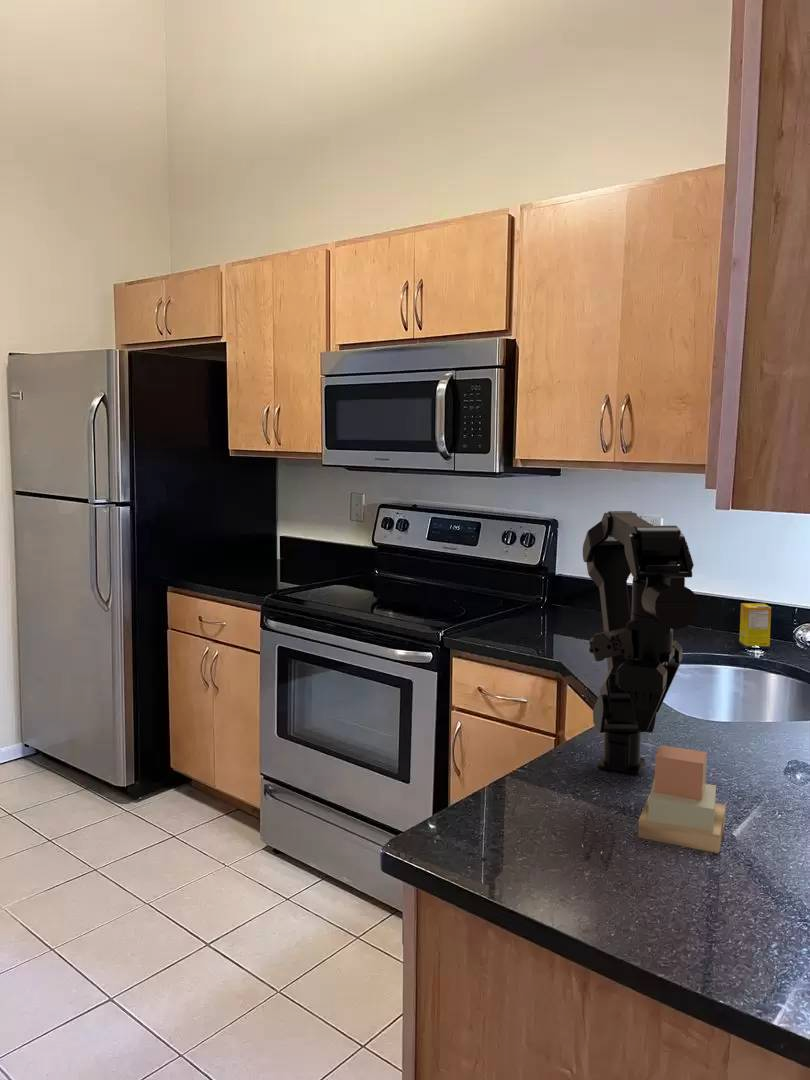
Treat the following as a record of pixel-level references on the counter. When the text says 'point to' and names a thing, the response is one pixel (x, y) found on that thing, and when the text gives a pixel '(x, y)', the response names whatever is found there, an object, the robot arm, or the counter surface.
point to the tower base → (684, 831)
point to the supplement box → (755, 625)
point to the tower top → (683, 809)
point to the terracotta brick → (680, 772)
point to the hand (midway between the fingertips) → (648, 720)
